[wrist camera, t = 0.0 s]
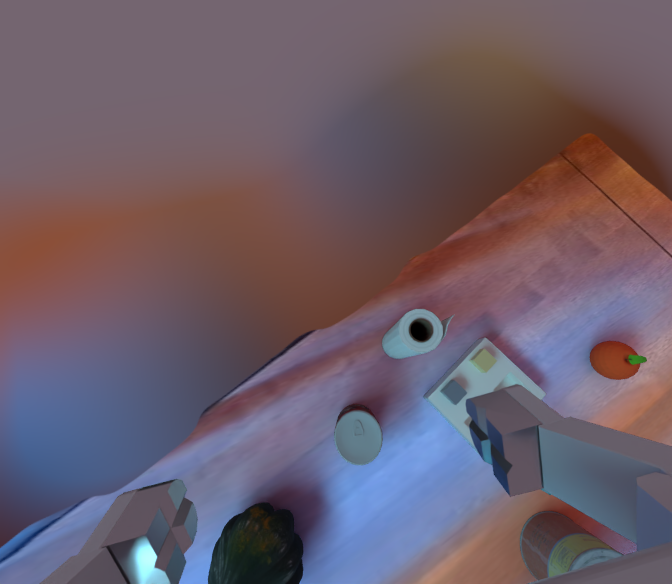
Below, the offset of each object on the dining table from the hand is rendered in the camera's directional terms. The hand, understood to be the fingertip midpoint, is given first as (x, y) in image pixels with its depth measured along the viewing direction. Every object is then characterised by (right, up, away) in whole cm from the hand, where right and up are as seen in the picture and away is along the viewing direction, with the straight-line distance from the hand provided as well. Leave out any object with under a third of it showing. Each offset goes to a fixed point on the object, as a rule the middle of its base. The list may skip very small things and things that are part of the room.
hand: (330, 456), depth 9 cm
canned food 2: (+37, -39, +45) cm, 71 cm away
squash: (-12, -40, +47) cm, 63 cm away
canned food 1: (+4, -21, +51) cm, 55 cm away
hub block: (+28, -15, +51) cm, 60 cm away
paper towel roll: (+13, -6, +54) cm, 56 cm away
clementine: (+52, -9, +52) cm, 74 cm away
